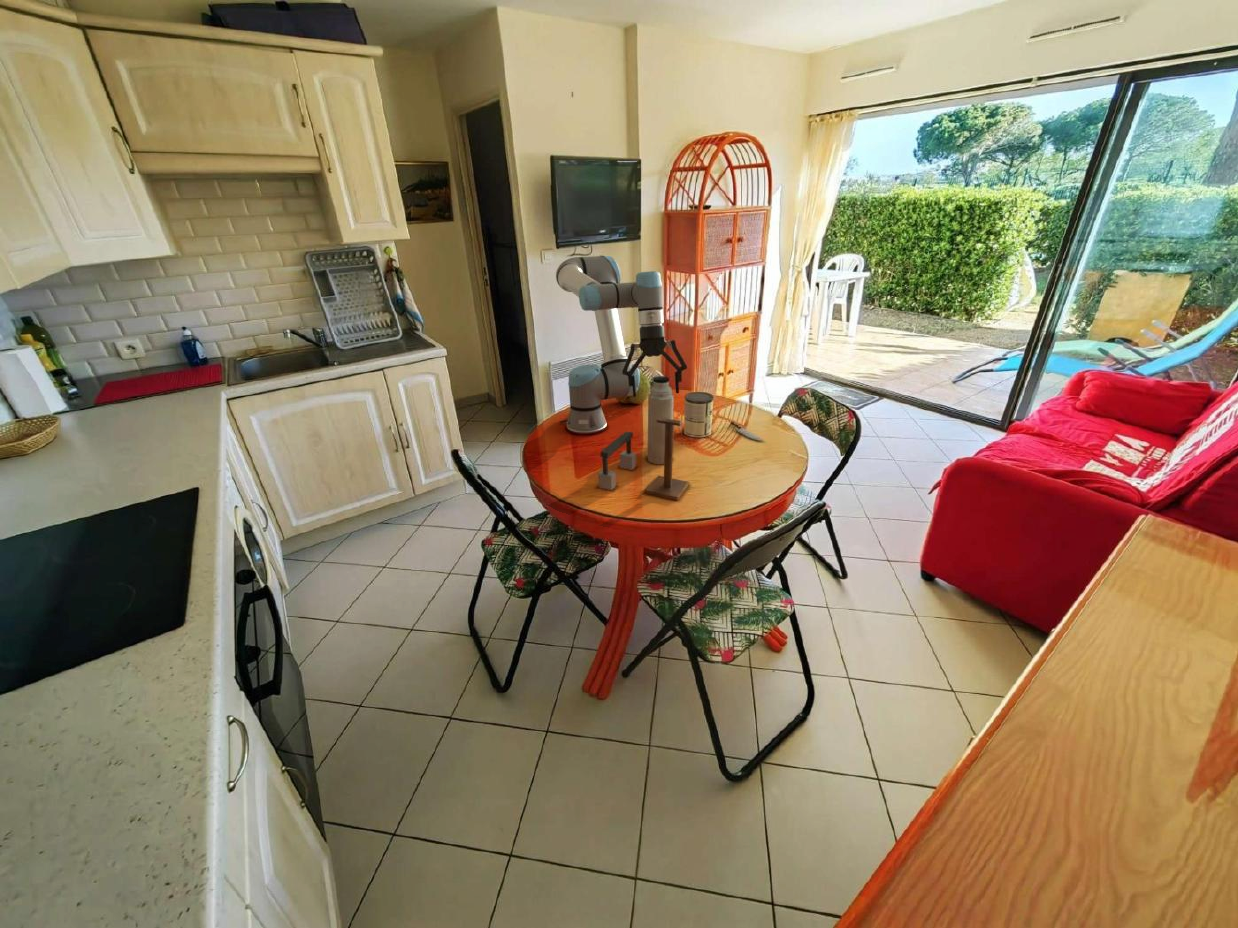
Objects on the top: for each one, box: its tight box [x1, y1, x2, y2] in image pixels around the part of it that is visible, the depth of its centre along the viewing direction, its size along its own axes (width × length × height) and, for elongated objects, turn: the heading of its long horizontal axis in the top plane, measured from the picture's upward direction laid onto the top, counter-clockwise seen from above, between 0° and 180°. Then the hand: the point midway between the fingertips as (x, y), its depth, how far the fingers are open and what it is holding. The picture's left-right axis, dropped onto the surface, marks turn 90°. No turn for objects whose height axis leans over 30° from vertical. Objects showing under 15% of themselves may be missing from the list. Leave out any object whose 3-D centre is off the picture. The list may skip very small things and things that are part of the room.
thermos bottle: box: [647, 375, 675, 465], centre depth 164 cm, size 8×8×28 cm
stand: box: [644, 418, 690, 501], centre depth 147 cm, size 10×10×22 cm
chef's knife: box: [730, 421, 764, 442], centre depth 188 cm, size 19×1×3 cm
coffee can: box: [683, 391, 715, 438], centre depth 187 cm, size 10×10×14 cm
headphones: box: [597, 430, 637, 491], centre depth 156 cm, size 4×17×12 cm, turn 153°
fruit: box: [615, 371, 651, 405], centre depth 217 cm, size 16×14×15 cm
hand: (655, 394), depth 161 cm, fingers open, 13 cm apart
